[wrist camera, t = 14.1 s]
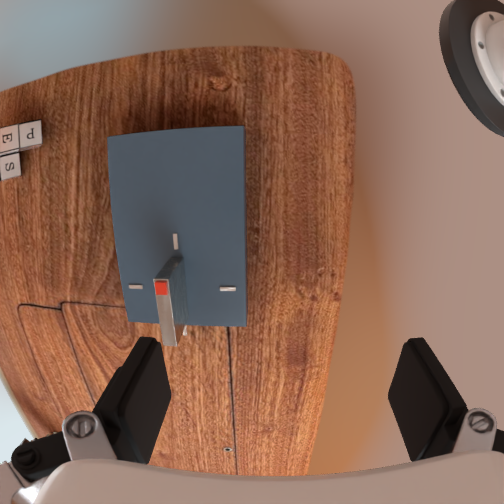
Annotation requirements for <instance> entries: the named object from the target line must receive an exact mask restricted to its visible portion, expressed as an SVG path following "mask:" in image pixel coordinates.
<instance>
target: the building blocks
mask: <svg viewBox="0 0 504 504" xmlns="http://www.w3.org/2000/svg"><path fill="white" fill-rule="evenodd" d="M42 144H43V142H42V126H41V119H38V120H33V121H28V122H23V123H19V124H14V125H10V126H5V127H1V128H0V182H2V181H6V180H9V179H13V178H17V177H21V167H20V157H19V152H20V151H24V150H28V149H33V148H37V147H41V145H42Z"/></svg>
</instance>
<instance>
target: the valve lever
mask: <svg viewBox="0 0 504 504" xmlns="http://www.w3.org/2000/svg"><path fill="white" fill-rule="evenodd" d="M154 287H155V294H156V301H157V308H158V315H159V321H160V327H161V333H162V339H163V345H165V346H177V345H178V343H179V340H180V338H181V335H182V333H183V330H184V328H185V325H186V323H187V321H188V318H189V311H188V301H187V291H186V280H185V269H184V257H170V259H169V260H168V261H167V262H166V264H165V265H164V266H163V267H162V269H161V270H160V271H159V272H158V274H157V275H156V276H155V278H154Z"/></svg>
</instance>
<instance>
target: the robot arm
mask: <svg viewBox="0 0 504 504" xmlns="http://www.w3.org/2000/svg"><path fill="white" fill-rule="evenodd" d="M471 46H472V52H473V55H474V58H475V62H476V64H477V67H478V69H479V72H480V74H481V76H482V78H483V80H484V82H485V83H486V85H487V86H488V88H489V90H490V91H491V93H492V94H493V95H494V96H495V98H496V99H497V100H498V101H499V102H500V103H501V104H502V105H503V106H504V15H502V14H500V13H497V12H485V13H483V14H481V15H479V16H478V17H477V18H476V19H475V20H474V22H473V24H472V27H471ZM388 399H389V402H390V405H391V408H392V410H393V413H394V415H395V418H396V421H397V423H398V426H399V429H400V431H401V434H402V437H403V440H404V443H405V446H406V448H407V451H408V454H409V457H410V460H411V461H412V462H409V463H404V464H399V465H393V466H388V467H382V468H376V469H370V470H362V471H354V472H345V473H335V474H324V475H306V476H243V475H226V474H214V473H203V472H195V471H187V470H179V469H171V468H165V467H158V466H153V465H147V464H148V463H149V461H150V458H151V455H152V452H153V449H154V446H155V443H156V440H157V437H158V434H159V431H160V429H161V426H162V423H163V420H164V417H165V414H166V411H167V408H168V406H169V403H170V400H171V390H170V385H169V381H168V376H167V372H166V367H165V362H164V357H163V352H162V347H161V343H160V342H157V341H156V339H155V338H152V337H140V338H139V339H138V341H137V343H136V344H135V346H134V348H133V349H132V351H131V353H130V354H129V356H128V358H127V359H126V361H125V363H124V364H123V366H122V367H119V368H118V369H117V370H116V372H115V373H114V375H113V377H112V379H111V380H110V382H109V384H108V385H107V387H106V389H105V390H104V392H103V394H102V395H101V397H100V399H99V401H98V402H97V404H96V406H95V408H94V409H93V411H92V412H89V411H77V412H74V413H72V414H70V415H69V416H67V417H66V419H65V420H64V421H63V424H62V431H61V432H58V433H55V434H52V435H49V436H46V437H43V438H40V439H37V440H34V441H31V442H27V443H24V444H22V445H20V446H18V447H17V448H16V449H15V450H14V452H13V453H12V457H11V462H9V463H7V462H6V461H4V462H2V463H1V464H0V504H504V431H501V430H499V429H497V421H496V418H495V417H494V415H493V414H492V413H491V412H489V411H488V410H485V409H481V408H474V409H471V410H468V409H467V407H466V406H467V405H466V403H465V402H464V400H463V399H462V397H461V395H460V394H459V392H458V390H457V389H456V387H455V385H454V384H453V382H452V381H451V379H450V377H449V376H448V374H447V373H446V371H445V370H444V368H443V366H442V365H441V363H440V362H439V361H438V359H437V357H436V356H435V354H434V353H433V351H432V350H431V348H430V347H429V345H428V344H427V342H426V341H425V339H424V338H410V339H409V340H408V341H407V342H406V343H404V345H403V348H402V352H401V355H400V358H399V362H398V365H397V368H396V371H395V374H394V377H393V380H392V383H391V386H390V389H389V392H388Z"/></svg>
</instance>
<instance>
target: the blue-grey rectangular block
mask: <svg viewBox="0 0 504 504" xmlns="http://www.w3.org/2000/svg"><path fill="white" fill-rule="evenodd" d="M107 142H108V168H109V184H110V197H111V209H112V219H113V228H114V236H115V244H116V252H117V259H118V266H119V272H120V278H121V284H122V290H123V296H124V301H125V306H126V312H127V317H128V321H130V322H143V323H159V324H160V321H159V315H158V308H157V301H156V294H155V287H154V278H155V276H156V275H157V274H158V272H159V271H160V270H161V269H162V267H163V266H164V265H165V264H166V262H167V261H168V260H169V259H170V257H184V269H185V280H186V291H187V301H188V311H189V318H188V321H187V323H186V325H201V326H242V327H246V326H247V314H248V295H247V222H246V129H245V127H244V126H215V127H196V128H181V129H169V130H158V131H148V132H139V133H131V134H123V135H116V136H109V137H107ZM186 325H185V328H184V330H183V334H184V335H187V328H186Z"/></svg>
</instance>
